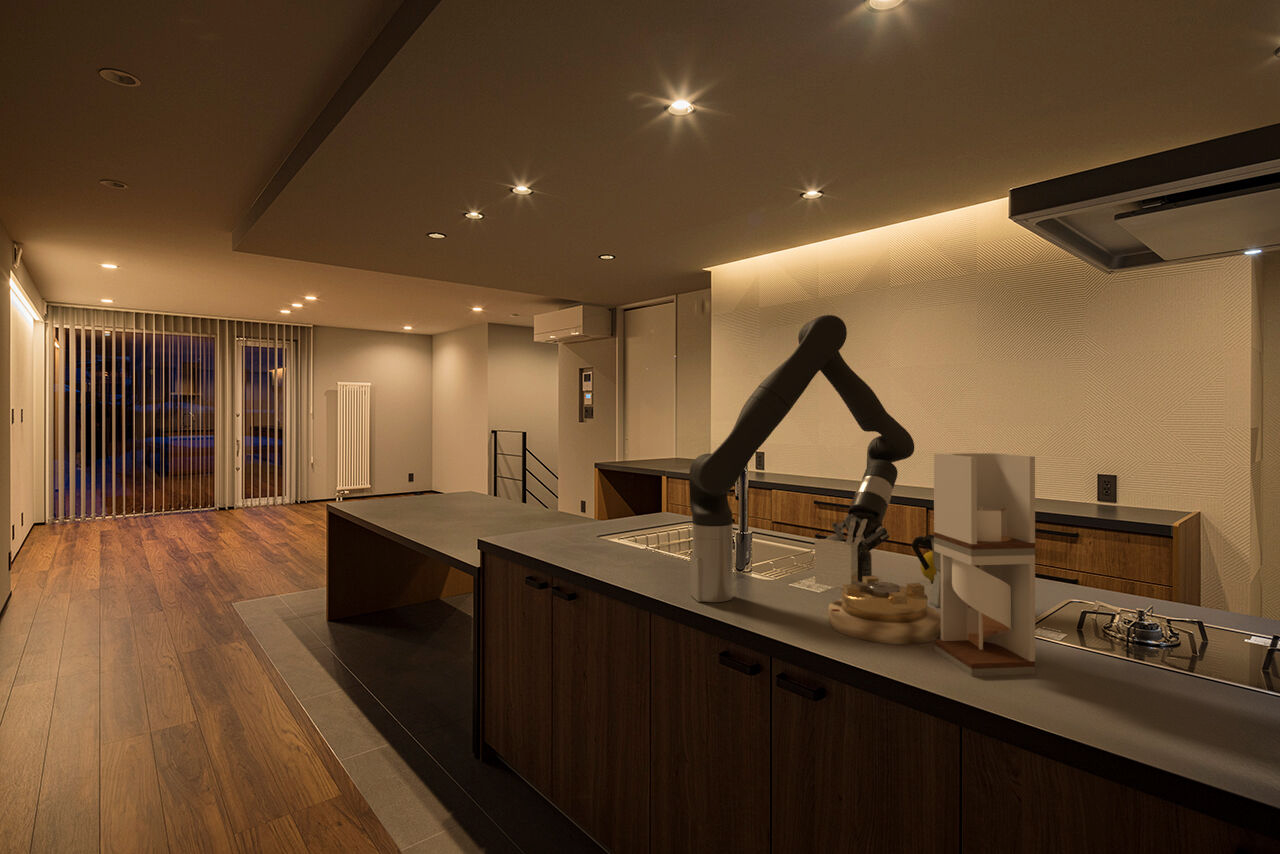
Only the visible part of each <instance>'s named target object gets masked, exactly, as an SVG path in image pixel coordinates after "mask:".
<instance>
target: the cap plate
mask: <svg viewBox="0 0 1280 854" xmlns="http://www.w3.org/2000/svg"><path fill="white" fill-rule="evenodd" d="M828 624H829V626H830V627H831V628H832V629H833V630H834V631H837V632H838V633H840V634H843V635H845V636H848V637H851V638H853V639H854V638H855V639H858V640H862V641H867V642H871V643H872V642H873V643H880V644H891V645H915V644H916V645H917V644H923V643H924V644H925V643H928V642H929V643H930V642H933V641H934V640H937V639H939V638H941V612H939V611H938V610H936V609H934V608H933V607H930V606H929V605H927V616H926V617H925V618H923V619H920V620H916V621H908V622H888V621H877V620H871V619H866V618H861V617H858V616H855V615H852V614H849V613H847V612H846V611H844V610H843V609H842V607H841V598H840V599H836V600H834V601H832V602H830V603H829V605H828Z"/></svg>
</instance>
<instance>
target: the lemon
mask: <svg viewBox="0 0 1280 854" xmlns="http://www.w3.org/2000/svg"><path fill="white" fill-rule="evenodd" d="M923 556H924V558H925V559H926V561H927V563H928V564H929V566H930V567H929V568H928V569H927V570H925V569H924V567H923V565H922V564H921V563H920V571H921V574H922V575H923V576H924V578H926V579H928V580H929V581H930V582H931V583H933V582H934V576H935V574H936V573H937V570H936V569H935V566H934V560H933V552H932V551H931V550H929V551H928V552H925V553H924V554H923Z"/></svg>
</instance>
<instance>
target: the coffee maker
mask: <svg viewBox="0 0 1280 854" xmlns="http://www.w3.org/2000/svg"><path fill="white" fill-rule="evenodd" d="M910 546H911V548H912V550H913V552H914V553H915V555H916V557H917V558H918V560H919V562H920V565H921V564H922V565H923V567H924V569H925V570H927V569H928V568H929V567H930V566H929V564H928V563H927V561H926V559H925V558H924V554H923V552H922V551H921V549H920V548H919V546H922V547H924V548H926V549H928V550H929V551H932V552H933V560H934V566H935V569H936V570H937V573H936V574H935V576H934V582H932V588H931V595H930V600H929V601H930V602H929V604H930V605H931V604H932V606H933V605H934V606H935V608H936V607H937V608H936V609H939V608H941V553H938V552H935V551H934V534H927V535H925V536H923V535H919V536H916V537H915V538H914V539H913V541H912V543H911V545H910ZM934 606H933V607H934Z"/></svg>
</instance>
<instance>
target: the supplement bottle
mask: <svg viewBox="0 0 1280 854" xmlns="http://www.w3.org/2000/svg"><path fill="white" fill-rule="evenodd" d="M845 540H847V537H846V539H845ZM872 557H873V556H872V552H871V550H870V551H866V550H864V551H862V552H860V554H859V556H858V559H857V560H858V582H863V576H873V569H872V567H873V563H872Z"/></svg>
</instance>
